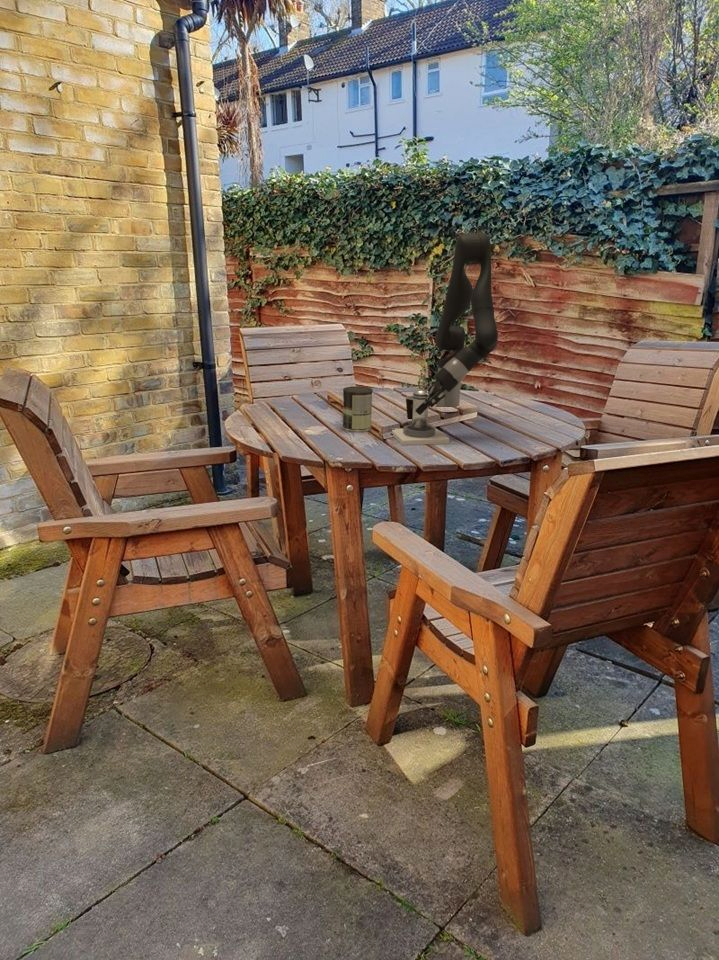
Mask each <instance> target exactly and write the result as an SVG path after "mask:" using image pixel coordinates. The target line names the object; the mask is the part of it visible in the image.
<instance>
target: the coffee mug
mask: <svg viewBox="0 0 719 960" xmlns="http://www.w3.org/2000/svg"><path fill="white" fill-rule="evenodd" d="M405 404H406V419H407V418H408V419H413V410H412V408H411V406H412V405H413V395H409V396H408V395H407V396H406V397H405Z"/></svg>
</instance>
